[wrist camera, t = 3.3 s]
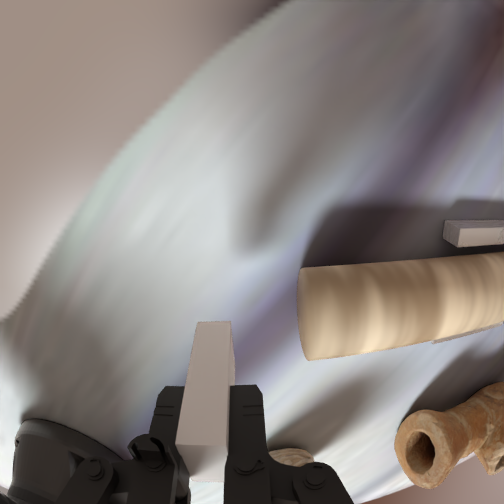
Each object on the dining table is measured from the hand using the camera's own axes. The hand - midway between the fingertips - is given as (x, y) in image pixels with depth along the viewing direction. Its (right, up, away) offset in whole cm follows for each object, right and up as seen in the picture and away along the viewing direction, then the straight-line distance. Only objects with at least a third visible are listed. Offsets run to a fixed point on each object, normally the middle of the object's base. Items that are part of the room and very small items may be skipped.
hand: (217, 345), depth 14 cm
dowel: (+14, +2, +5) cm, 15 cm away
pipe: (+24, -12, +11) cm, 29 cm away
